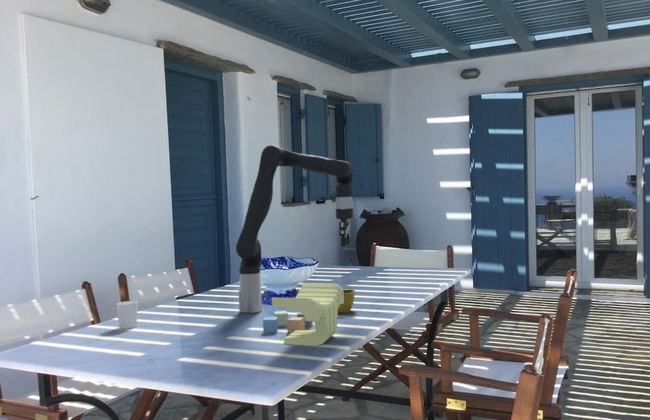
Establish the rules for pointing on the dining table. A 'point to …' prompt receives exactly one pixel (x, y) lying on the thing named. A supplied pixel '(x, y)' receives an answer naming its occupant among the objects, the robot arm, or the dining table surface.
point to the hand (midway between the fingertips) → (345, 245)
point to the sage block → (281, 317)
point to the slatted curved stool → (314, 311)
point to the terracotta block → (295, 324)
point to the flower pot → (347, 301)
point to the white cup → (127, 314)
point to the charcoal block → (308, 323)
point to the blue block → (270, 325)
